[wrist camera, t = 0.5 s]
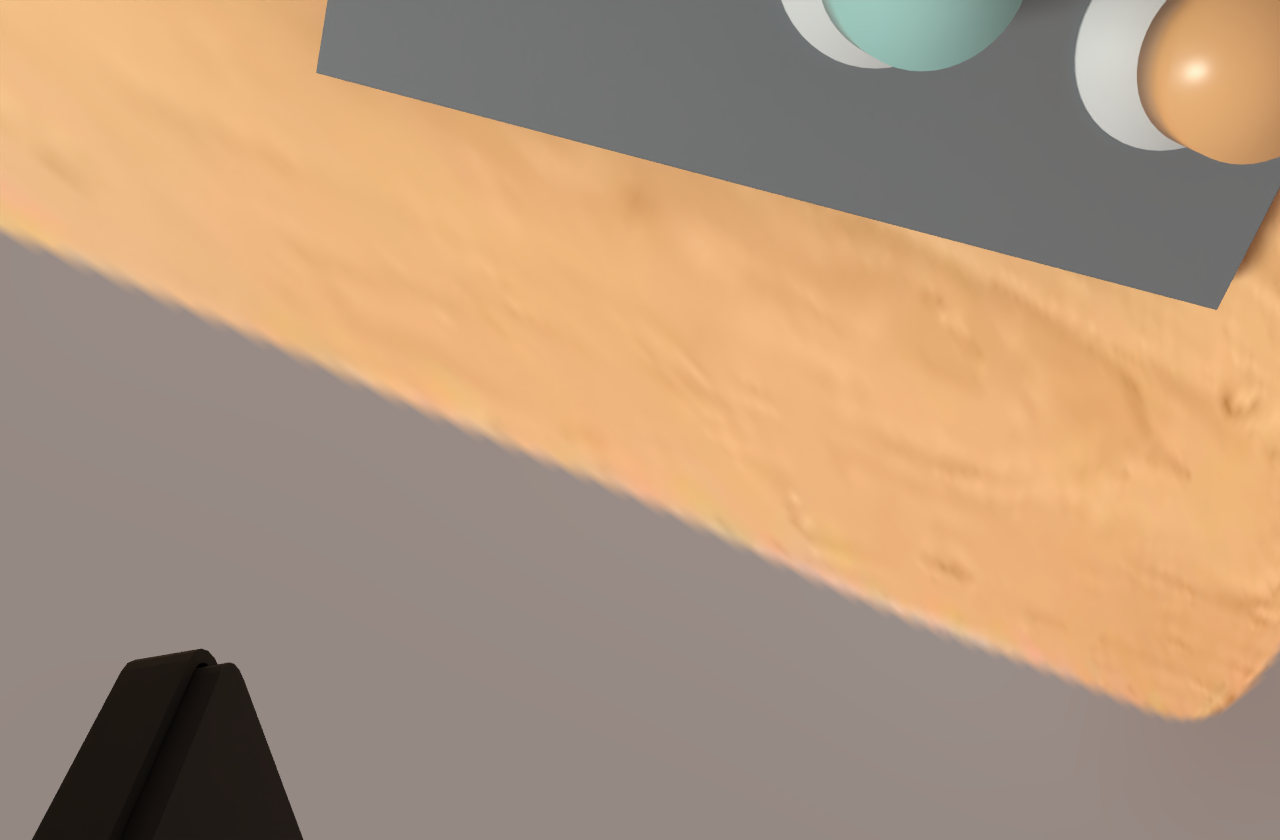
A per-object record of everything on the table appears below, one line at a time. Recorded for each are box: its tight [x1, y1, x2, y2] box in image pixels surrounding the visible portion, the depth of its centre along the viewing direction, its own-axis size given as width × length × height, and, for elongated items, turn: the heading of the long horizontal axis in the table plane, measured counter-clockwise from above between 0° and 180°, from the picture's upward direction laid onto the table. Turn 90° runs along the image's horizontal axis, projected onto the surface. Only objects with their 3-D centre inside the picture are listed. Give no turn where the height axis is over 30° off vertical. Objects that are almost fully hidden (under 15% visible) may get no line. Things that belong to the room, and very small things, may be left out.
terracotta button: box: [1137, 0, 1280, 165], centre depth 30 cm, size 5×5×3 cm
